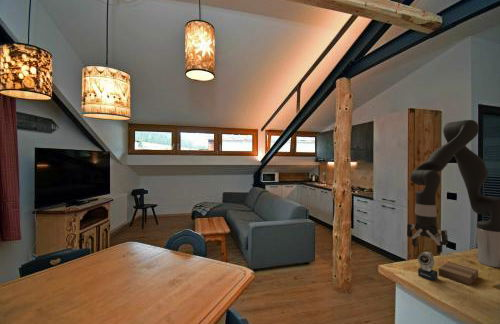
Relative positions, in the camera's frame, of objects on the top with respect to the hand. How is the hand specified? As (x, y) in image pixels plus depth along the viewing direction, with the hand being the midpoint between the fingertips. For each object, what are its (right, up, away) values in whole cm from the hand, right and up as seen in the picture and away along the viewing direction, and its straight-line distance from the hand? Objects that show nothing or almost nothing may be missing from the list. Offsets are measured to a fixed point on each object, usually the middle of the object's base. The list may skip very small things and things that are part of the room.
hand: (426, 249), depth 96 cm
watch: (0, -13, 0) cm, 13 cm away
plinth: (+14, -12, 0) cm, 19 cm away
